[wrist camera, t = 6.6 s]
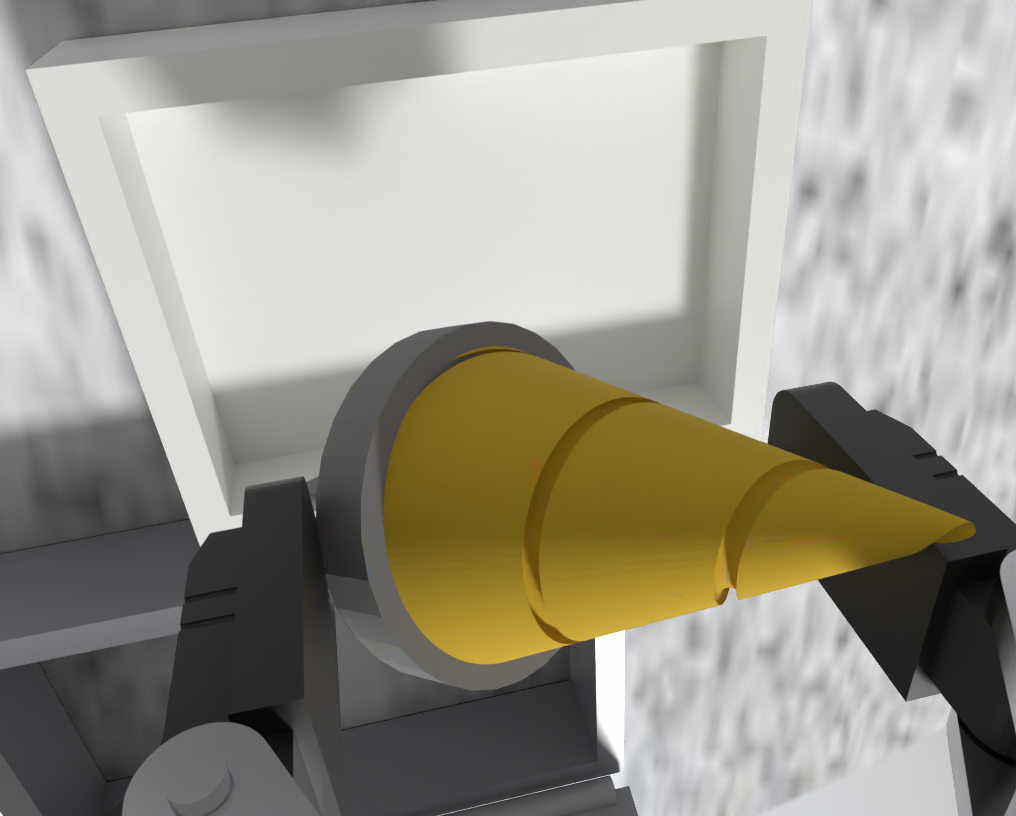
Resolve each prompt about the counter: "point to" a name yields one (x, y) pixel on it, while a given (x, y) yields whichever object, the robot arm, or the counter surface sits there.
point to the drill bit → (562, 509)
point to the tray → (429, 205)
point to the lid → (564, 802)
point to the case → (366, 749)
